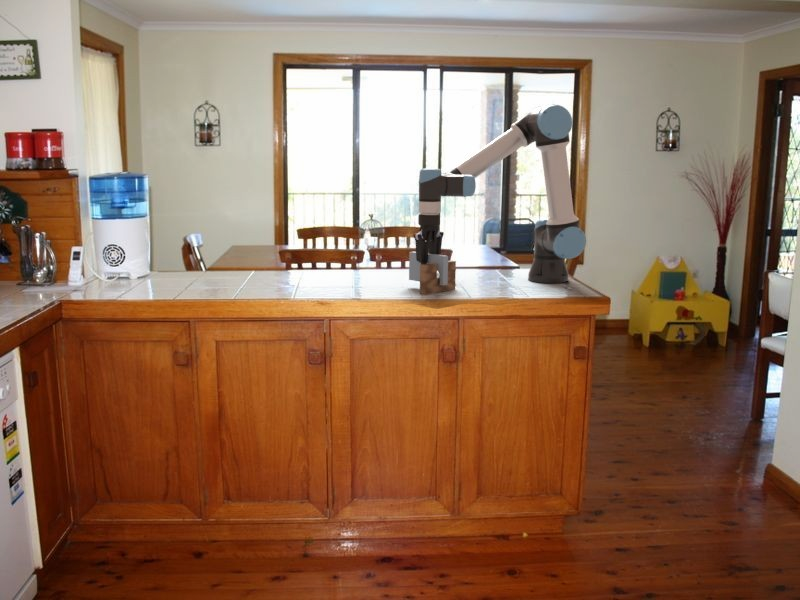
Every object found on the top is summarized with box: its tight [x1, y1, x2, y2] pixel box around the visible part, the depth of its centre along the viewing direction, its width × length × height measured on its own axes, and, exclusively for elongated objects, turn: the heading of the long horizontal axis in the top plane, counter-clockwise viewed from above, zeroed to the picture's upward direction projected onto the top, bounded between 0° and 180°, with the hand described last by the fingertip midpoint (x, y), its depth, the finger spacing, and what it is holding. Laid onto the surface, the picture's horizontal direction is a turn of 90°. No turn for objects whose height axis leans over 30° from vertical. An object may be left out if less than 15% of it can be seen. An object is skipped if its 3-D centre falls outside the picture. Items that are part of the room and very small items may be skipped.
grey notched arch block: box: [408, 250, 449, 285], centre depth 266 cm, size 16×2×10 cm, turn 46°
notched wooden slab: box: [419, 259, 457, 296], centre depth 263 cm, size 16×2×10 cm, turn 136°
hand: (428, 280), depth 266 cm, fingers closed on grey notched arch block, 2 cm apart
